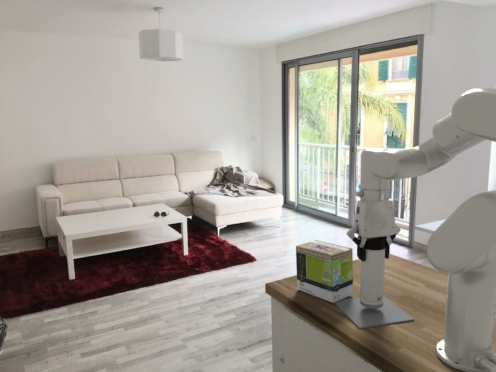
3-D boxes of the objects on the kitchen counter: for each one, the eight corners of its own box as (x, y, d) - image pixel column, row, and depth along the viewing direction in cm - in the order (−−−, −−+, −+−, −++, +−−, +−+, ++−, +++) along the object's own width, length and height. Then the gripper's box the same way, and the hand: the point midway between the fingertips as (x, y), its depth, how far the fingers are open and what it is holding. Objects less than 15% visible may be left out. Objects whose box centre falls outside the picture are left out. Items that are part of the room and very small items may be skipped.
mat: (414, 320, 111) (414, 319, 111) (359, 328, 108) (359, 327, 107) (382, 295, 126) (382, 294, 126) (333, 302, 123) (333, 301, 123)
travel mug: (385, 309, 113) (388, 239, 110) (360, 308, 114) (362, 238, 111) (383, 300, 119) (385, 232, 116) (359, 298, 120) (361, 231, 117)
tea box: (354, 294, 127) (353, 247, 125) (332, 304, 121) (331, 255, 118) (317, 281, 138) (316, 238, 136) (295, 289, 132) (294, 245, 130)
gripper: (351, 199, 106) (350, 266, 109) (411, 194, 109) (409, 259, 113) (338, 194, 113) (338, 257, 116) (395, 190, 117) (393, 251, 120)
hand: (373, 257), depth 114 cm, fingers closed on travel mug, 6 cm apart
